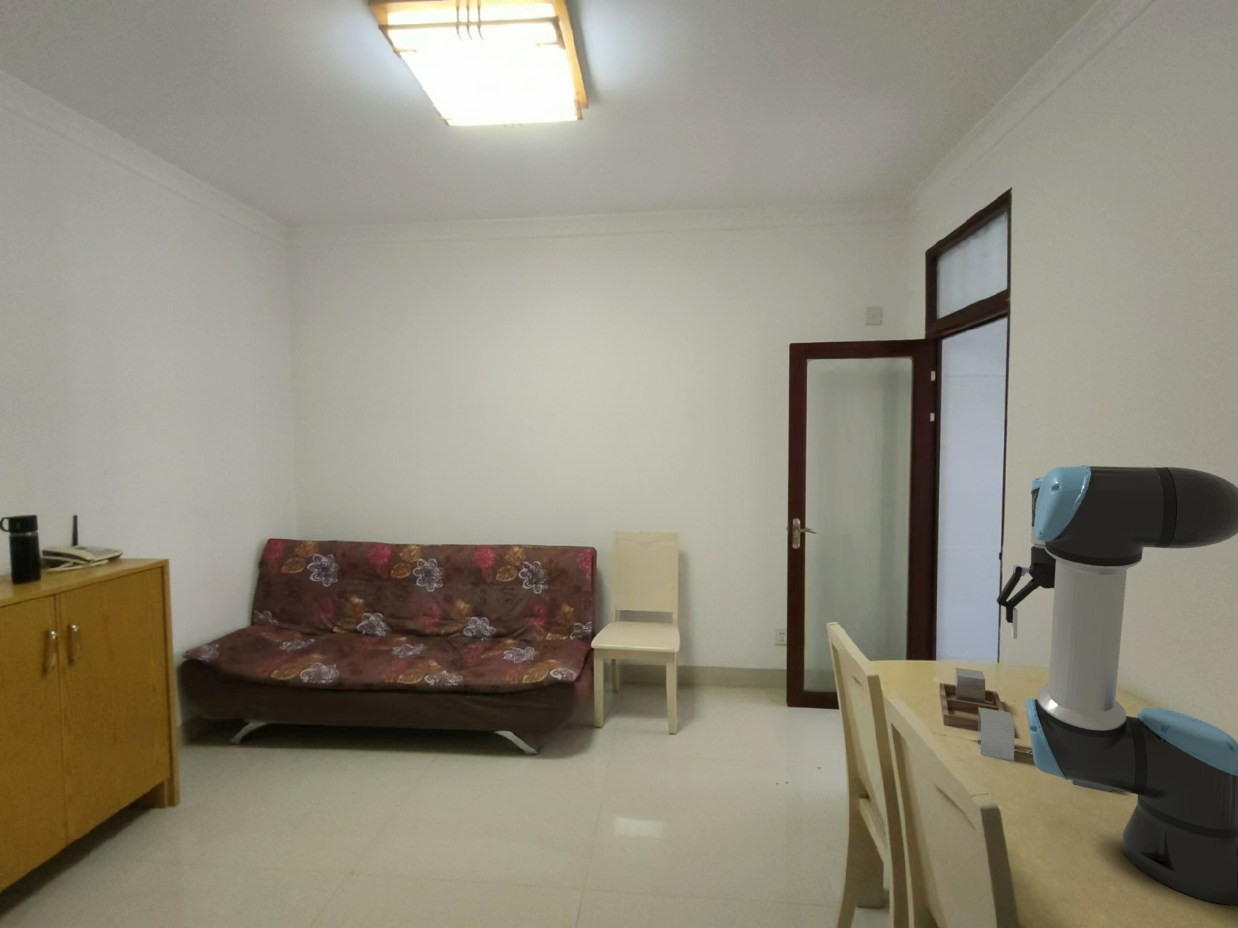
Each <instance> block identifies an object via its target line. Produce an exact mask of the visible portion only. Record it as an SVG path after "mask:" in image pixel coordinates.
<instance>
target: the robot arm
mask: <svg viewBox="0 0 1238 928" xmlns="http://www.w3.org/2000/svg"><path fill="white" fill-rule="evenodd" d="M1030 494H1031V530H1030V531H1031V533H1030V536H1031V537H1030V543H1031V544H1032V546H1031V547H1030V565H1029V567H1025V566H1020V565H1018V564H1014V566H1013V571H1012V575H1011V576H1010V578H1009V579H1008V581H1007V582H1006V584H1005V585H1004V587H1003V589H1002V590H1001V592H1000V594H999V595H998V597H997V598H996V602H997V604H998V605H999V606H1002V607H1005V621H1006V622H1007V623H1009V624H1011V625H1010V636H1011V638H1012V639H1013V640H1017V639H1018V609H1017V608H1016V607H1017V605H1019V604H1020V603H1021V602H1022V601H1023V600H1025V599H1026V598H1027V597H1028V596H1029V595H1030V594H1031V593H1032V592H1033V591H1034V590H1037V589H1038V588H1039V587H1041V588H1043V589H1054V591H1053V603H1052V604H1053V608H1052V622H1051V623H1052V625H1051V640H1050V643H1051V644H1050V657H1049V659H1050V660H1049V673H1048V676H1049V677H1048V684H1044V685H1042V687H1040V688H1039V689H1038V691H1037V693H1036V698H1035V697H1034V698H1028V699H1026V700H1025V708H1026V715H1027V723H1028V729H1029V731H1028V732H1029V738H1030V742H1031V745H1030V746H1031V752H1032V758H1033V762H1034V765H1035V767H1036V768H1037V769H1038V770H1039V771H1041V772H1042V773H1045V774H1048V775H1051V776H1056V777H1058V778H1062V779H1063V780H1064V779H1065V781H1069V780H1070V781H1071V780H1076V781H1080V782H1084V783H1089V784H1093V785H1098V786H1102V787H1107V788H1111V789H1112V790H1116V791H1120V792H1124V793H1131V794H1133V795H1137V804H1136V806H1135V808H1134V810H1133V812H1132V814H1131V815H1130V817H1129V820H1128V821H1127V823H1126V825H1125V827H1124V829H1123V832H1122V851H1123V853H1124V854H1125V856H1126V857H1127V859H1128V860H1129V861H1130V862H1131V863H1132V864H1133V865H1134V866H1136V867H1137V868H1138V869H1139V870H1141V871H1142V872H1143V873H1145V874H1146V875H1148V876H1150V877H1151V878H1152V879H1154V880H1156V881H1157V882H1160V883H1161V884H1163V885H1166V886H1167V887H1169V888H1172V889H1174V890H1176V891H1179V892H1180V893H1183V894H1186V895H1189V896H1192V897H1194V898H1197V899H1201V900H1204V901H1206V902H1207V901H1208V902H1212V903H1217V904H1223V905H1232V906H1238V741H1237V740H1236V739H1235V738H1234V737H1232V736H1231V735H1230V734H1229V733H1227V732H1226V731H1224V730H1223V729H1221V728H1219V727H1218V726H1215V725H1213V724H1211V723H1209V722H1206V721H1204V720H1202V719H1199V718H1196V717H1193V716H1191V715H1187V714H1184V713H1181V712H1177V711H1174V710H1169V709H1165V708H1160V707H1143V708H1141V709H1139V712H1137V717H1136V716H1129V715H1127V711H1126V710H1125V708H1124V707H1123V706H1122V705H1121V704H1120V702H1118V701H1117V700H1116V695H1117V685H1118V684H1117V683H1118V675H1119V674H1118V673H1119V663H1120V662H1119V661H1120V653H1121V652H1120V651H1121V650H1120V649H1121V641H1122V628H1123V618H1124V606H1125V594H1126V585H1127V583H1126V582H1127V573H1128V570H1129V569H1130V568H1132V567H1134V566H1137V565H1138V564H1139V563H1141V562H1142V559H1143V552H1144V551H1143V550H1144V548H1154V549H1155V548H1160V549H1193V548H1194V549H1195V548H1200V547H1206V546H1211V545H1215V544H1219V543H1221V542H1224V541H1227V540H1229V539H1231V538H1233V537H1235V536H1237V535H1238V487H1237V486H1236V485H1235V484H1234V483H1232V482H1230V481H1229V480H1227V479H1225V478H1223V477H1221V476H1218V475H1216V474H1213V473H1210V472H1206V471H1203V470H1197V469H1193V468H1187V467H1186V468H1185V467H1178V466H1177V467H1176V466H1175V467H1173V466H1162V467H1159V466H1158V467H1153V466H1152V467H1151V466H1148V467H1147V466H1140V467H1139V466H1105V465H1104V466H1102V465H1101V466H1098V465H1096V466H1095V465H1088V464H1087V465H1086V464H1085V465H1080V466H1059V467H1054V468H1052V469H1051V470H1049V471H1048V472H1046V473H1045V476H1044V477H1040V476H1038V477H1034V478H1033V479H1032V484H1031V490H1030ZM1026 574H1029V575H1030V577H1031V579H1030V580H1029V581H1028V582H1027V583H1026V584H1025V585H1024V586H1023V587H1022V588H1021V589H1020V590H1019V591H1017V593H1016V594H1014V595H1013V596H1011V598H1009V597H1010V595H1012V593H1013V591H1014V590H1015V588H1016V587H1017V585H1018V583H1019V582H1020V581H1021V579H1022V578H1021V577H1024V576H1025V575H1026ZM1008 599H1009V600H1008Z"/></svg>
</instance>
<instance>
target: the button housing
mask: <svg viewBox="0 0 1238 928" xmlns="http://www.w3.org/2000/svg"><path fill="white" fill-rule="evenodd" d="M1070 781H1071V783H1072V785H1075V786H1081V787H1086V788H1090V789H1096V790H1101V791H1106V792H1110V791H1111V792H1112V790H1113V789H1111V788H1107V787H1102V786H1098V785H1093V784H1089V783H1084V782H1080V781H1076V780H1071V779H1070Z"/></svg>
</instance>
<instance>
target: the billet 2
mask: <svg viewBox="0 0 1238 928" xmlns="http://www.w3.org/2000/svg"><path fill="white" fill-rule="evenodd" d="M977 744H978V746H977V747H978V750H979V754H980V756H985V757H991V758H996V759H1000V760H1005V761H1009V762H1015V722H1014V720H1013V716H1012V714H1011V712H1008V711H1004V712H1003V711H997V710H991V709H985V708H979V707H978V731H977Z"/></svg>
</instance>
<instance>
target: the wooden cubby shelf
mask: <svg viewBox="0 0 1238 928" xmlns="http://www.w3.org/2000/svg"><path fill="white" fill-rule="evenodd" d="M938 688H939V689H938V690H939V698H940V699H939V701H940V705H941V707H940V708H941V712H942V713H941V715H942V723H943V726H946V727H951V728H957V729H961V730H962V729H963V730H968V731H973V732H978V707H979V708H985V709H991V710H997V711H1003V712H1005V709H1004V707H1003V704H1002V702H1001V699H1000V696H999V693H998V691H995V690H990V689H985V704H982V703H976V702H970V701H964V700H957V699H955V684H950V683H944V682H939V687H938Z"/></svg>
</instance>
